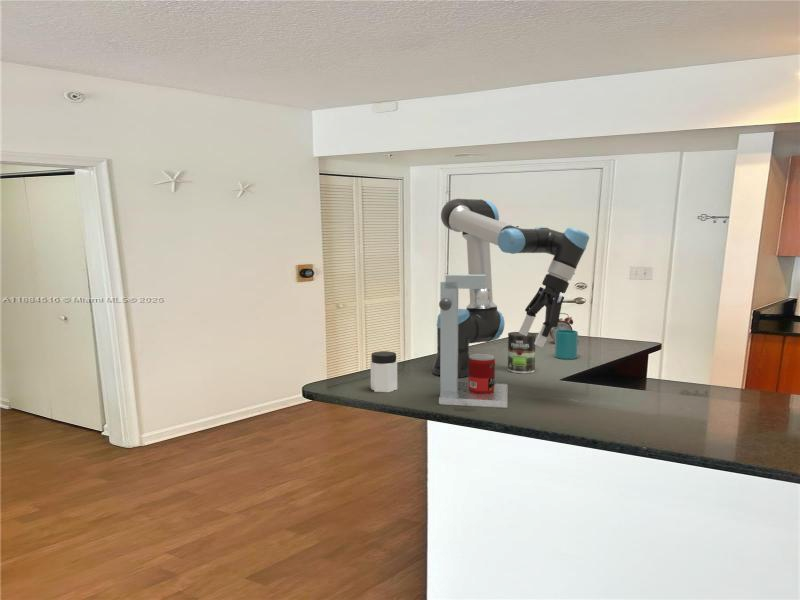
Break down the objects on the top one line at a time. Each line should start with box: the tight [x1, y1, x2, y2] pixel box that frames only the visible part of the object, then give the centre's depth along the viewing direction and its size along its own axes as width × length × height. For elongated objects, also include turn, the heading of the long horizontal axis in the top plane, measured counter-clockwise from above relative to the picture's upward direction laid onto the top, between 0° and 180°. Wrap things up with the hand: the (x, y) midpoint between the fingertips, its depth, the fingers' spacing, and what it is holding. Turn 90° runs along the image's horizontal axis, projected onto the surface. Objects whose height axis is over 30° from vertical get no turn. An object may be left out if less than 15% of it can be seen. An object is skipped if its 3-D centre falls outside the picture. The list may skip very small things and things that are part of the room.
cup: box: [554, 329, 579, 360], centre depth 228 cm, size 9×12×11 cm
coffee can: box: [507, 331, 537, 374], centre depth 204 cm, size 10×10×14 cm
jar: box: [370, 350, 398, 393], centre depth 177 cm, size 9×8×12 cm
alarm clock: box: [549, 312, 574, 343], centre depth 260 cm, size 11×5×15 cm, turn 81°
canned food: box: [468, 353, 496, 394], centre depth 167 cm, size 8×8×11 cm
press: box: [438, 274, 509, 409], centre depth 165 cm, size 23×20×38 cm
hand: (530, 339), depth 169 cm, fingers open, 13 cm apart
